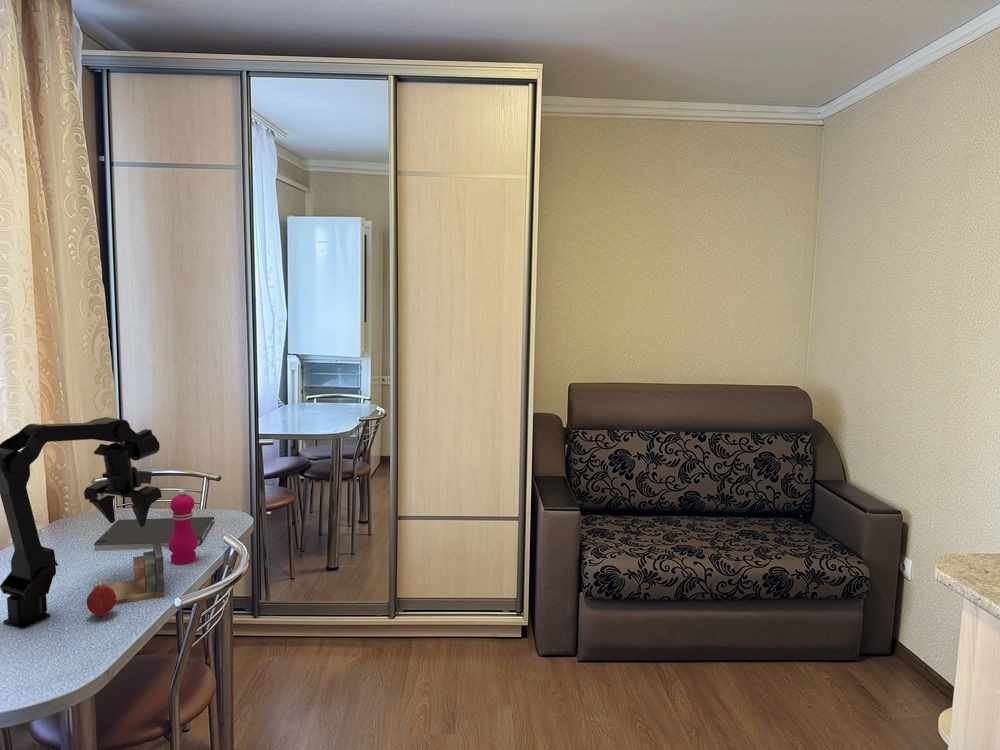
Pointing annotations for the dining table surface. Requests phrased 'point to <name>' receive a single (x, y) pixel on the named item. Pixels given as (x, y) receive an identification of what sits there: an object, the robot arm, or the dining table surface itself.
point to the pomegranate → (101, 600)
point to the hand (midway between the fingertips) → (127, 524)
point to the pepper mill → (182, 530)
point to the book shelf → (128, 592)
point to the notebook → (147, 533)
